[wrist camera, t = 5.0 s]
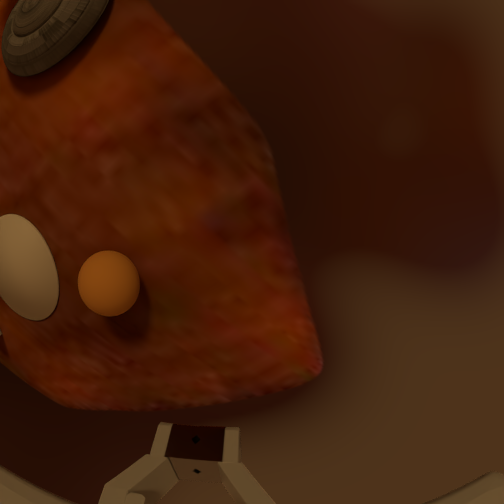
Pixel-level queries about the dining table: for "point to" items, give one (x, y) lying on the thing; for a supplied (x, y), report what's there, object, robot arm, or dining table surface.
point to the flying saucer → (46, 32)
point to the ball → (109, 283)
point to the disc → (26, 269)
